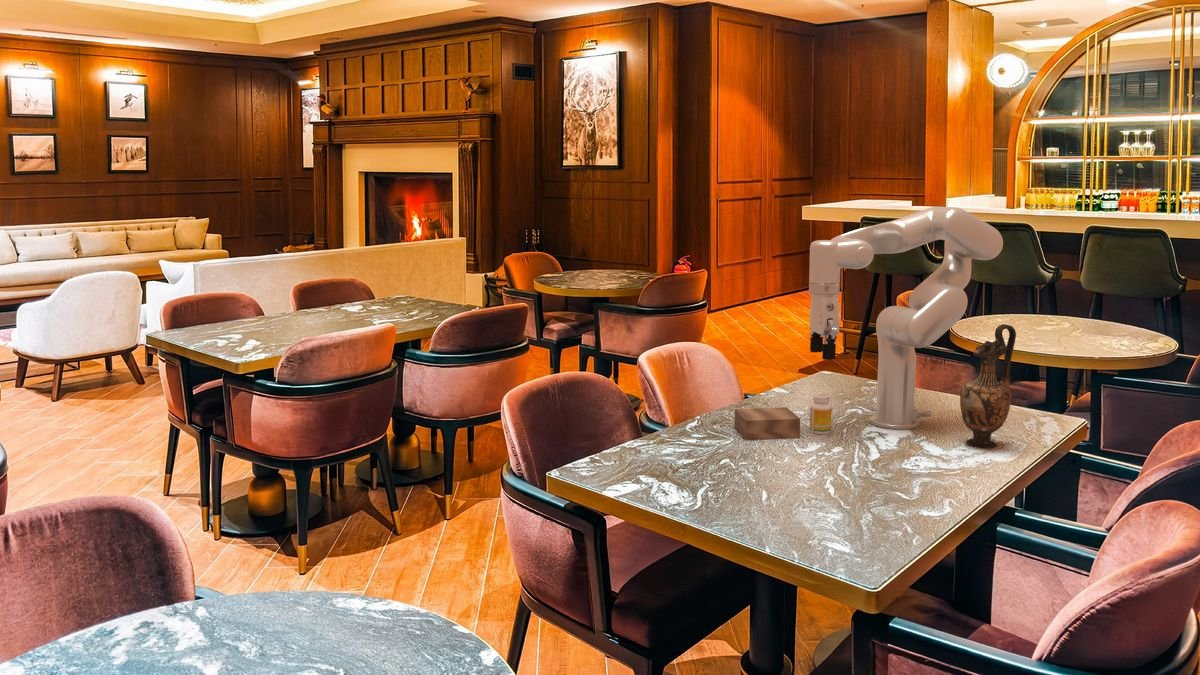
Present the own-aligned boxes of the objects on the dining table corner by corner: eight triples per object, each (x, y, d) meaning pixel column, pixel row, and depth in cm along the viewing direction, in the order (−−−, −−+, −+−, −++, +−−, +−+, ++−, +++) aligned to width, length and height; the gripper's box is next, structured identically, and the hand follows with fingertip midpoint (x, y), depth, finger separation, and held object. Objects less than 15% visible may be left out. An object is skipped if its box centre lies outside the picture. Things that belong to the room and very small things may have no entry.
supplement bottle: (805, 430, 248) (806, 394, 247) (821, 428, 251) (822, 392, 249) (818, 435, 244) (819, 399, 242) (835, 432, 246) (836, 396, 244)
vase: (948, 439, 240) (955, 321, 234) (996, 437, 241) (1003, 320, 235) (970, 452, 228) (978, 329, 223) (1020, 450, 229) (1029, 328, 224)
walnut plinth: (786, 425, 253) (786, 407, 252) (799, 437, 242) (800, 418, 241) (734, 427, 252) (734, 409, 251) (745, 439, 240) (746, 420, 239)
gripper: (850, 293, 233) (848, 361, 236) (827, 284, 250) (825, 349, 253) (820, 294, 232) (819, 362, 235) (799, 285, 249) (798, 349, 252)
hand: (822, 355), depth 244 cm, fingers open, 9 cm apart
